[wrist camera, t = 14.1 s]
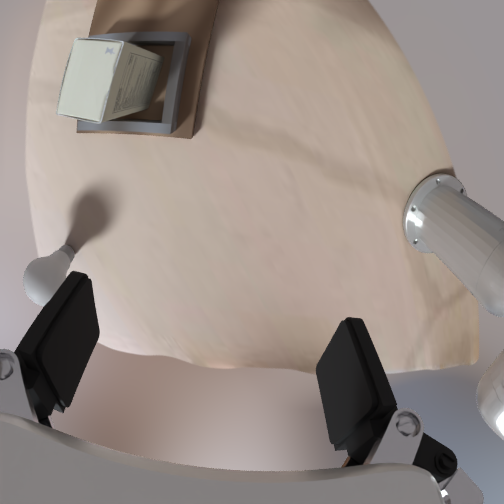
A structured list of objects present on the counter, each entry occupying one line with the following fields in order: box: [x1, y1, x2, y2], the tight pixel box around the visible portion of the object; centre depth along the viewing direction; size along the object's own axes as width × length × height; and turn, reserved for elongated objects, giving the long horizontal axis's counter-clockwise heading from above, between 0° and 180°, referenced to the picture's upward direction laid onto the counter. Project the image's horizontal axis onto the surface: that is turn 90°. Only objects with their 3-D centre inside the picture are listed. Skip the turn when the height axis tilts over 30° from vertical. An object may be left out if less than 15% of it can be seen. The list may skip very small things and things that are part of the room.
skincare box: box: [56, 38, 164, 124], centre depth 20 cm, size 6×4×12 cm
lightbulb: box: [23, 245, 74, 306], centre depth 31 cm, size 6×6×11 cm
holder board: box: [77, 0, 219, 139], centre depth 23 cm, size 14×18×4 cm
